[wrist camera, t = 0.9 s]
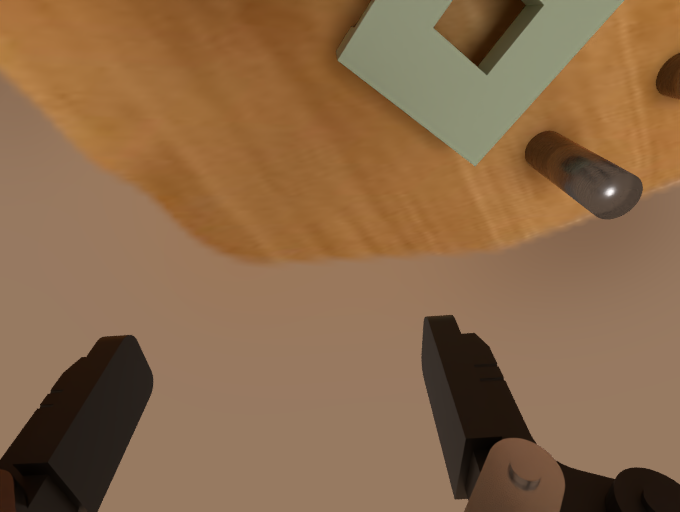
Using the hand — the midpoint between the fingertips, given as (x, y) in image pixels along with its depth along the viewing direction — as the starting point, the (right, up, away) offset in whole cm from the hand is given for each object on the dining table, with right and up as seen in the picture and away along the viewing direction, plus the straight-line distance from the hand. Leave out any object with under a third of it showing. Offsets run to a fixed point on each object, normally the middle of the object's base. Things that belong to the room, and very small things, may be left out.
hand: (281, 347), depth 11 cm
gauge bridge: (+10, +20, +17) cm, 28 cm away
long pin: (+19, +12, +23) cm, 32 cm away
